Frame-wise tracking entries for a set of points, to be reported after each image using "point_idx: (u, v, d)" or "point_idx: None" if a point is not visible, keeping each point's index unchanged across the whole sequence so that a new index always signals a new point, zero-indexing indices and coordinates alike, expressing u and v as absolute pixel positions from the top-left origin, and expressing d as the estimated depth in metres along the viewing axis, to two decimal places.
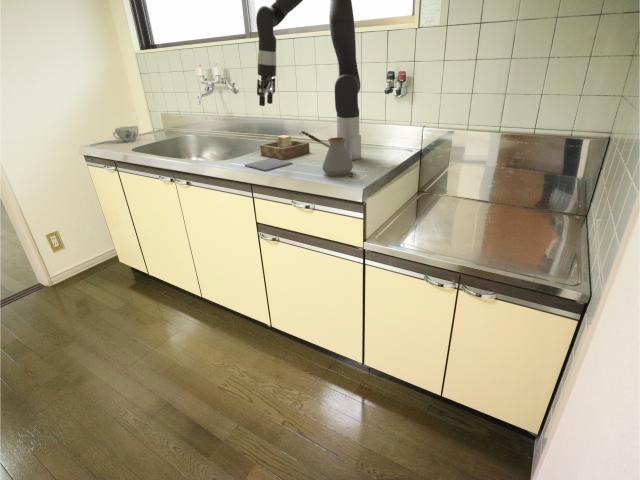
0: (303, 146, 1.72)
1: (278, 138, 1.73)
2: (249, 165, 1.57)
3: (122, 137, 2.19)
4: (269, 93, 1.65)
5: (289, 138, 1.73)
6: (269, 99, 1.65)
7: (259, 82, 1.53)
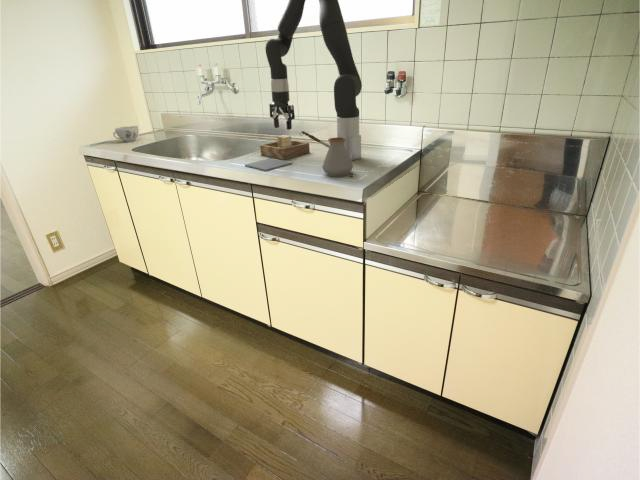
0: (303, 146, 1.72)
1: (278, 138, 1.73)
2: (249, 165, 1.57)
3: (122, 137, 2.19)
4: (276, 118, 1.72)
5: (289, 138, 1.73)
6: (277, 123, 1.73)
7: (291, 108, 1.63)
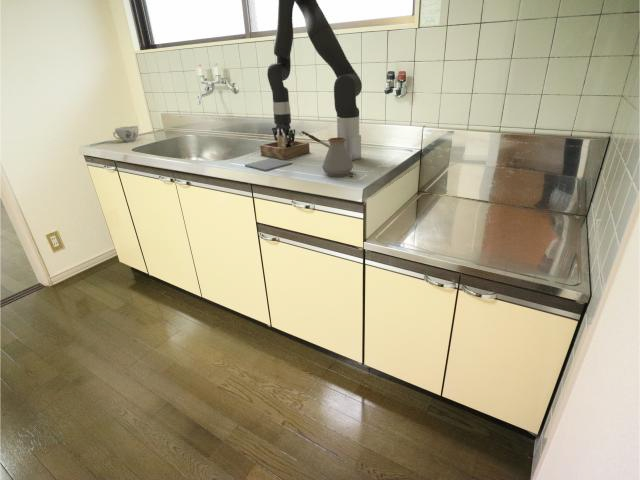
0: (303, 146, 1.72)
1: (278, 138, 1.73)
2: (249, 165, 1.57)
3: (122, 137, 2.19)
4: None
5: None
6: None
7: (292, 133, 1.68)
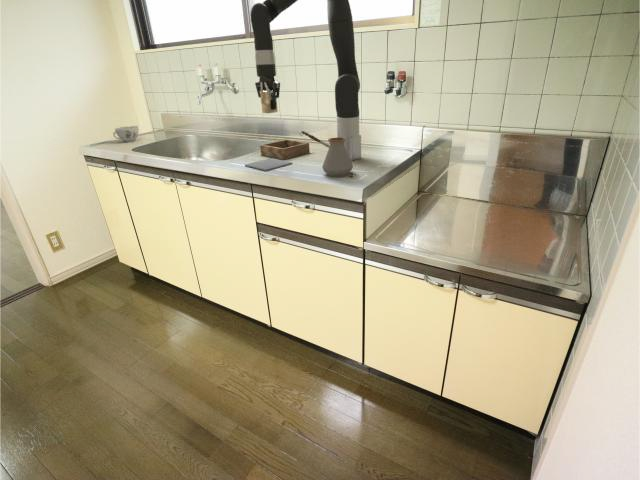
0: (303, 146, 1.72)
1: (261, 93, 1.53)
2: (249, 165, 1.57)
3: (122, 137, 2.19)
4: None
5: None
6: None
7: (276, 86, 1.48)
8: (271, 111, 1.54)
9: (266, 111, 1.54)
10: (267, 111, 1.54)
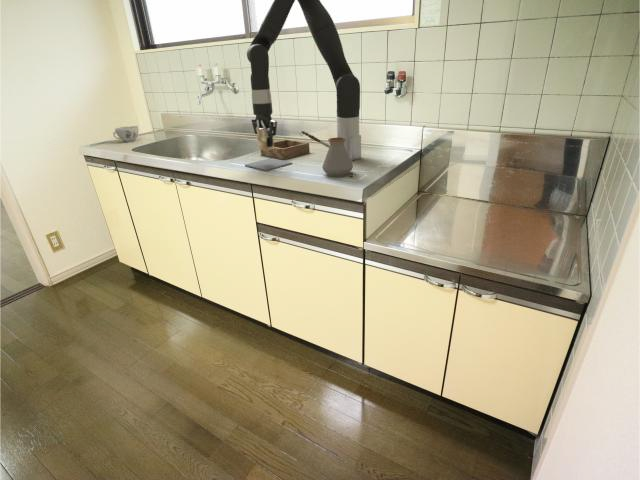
0: (303, 146, 1.72)
1: (258, 131, 1.52)
2: (249, 165, 1.57)
3: (122, 137, 2.19)
4: None
5: None
6: None
7: (273, 125, 1.47)
8: (268, 148, 1.53)
9: (262, 148, 1.54)
10: (264, 148, 1.53)
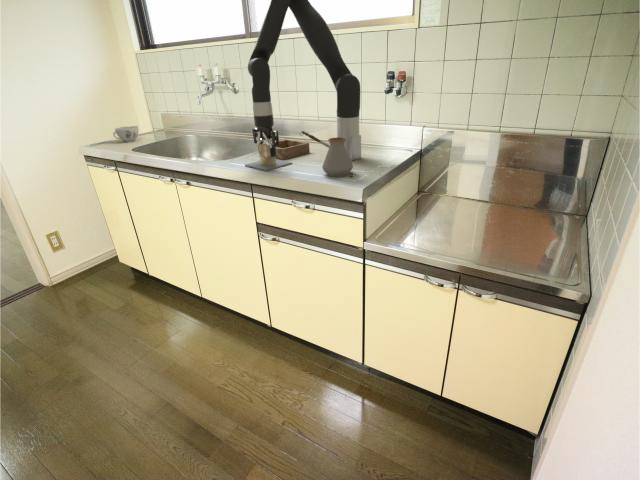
0: (303, 146, 1.72)
1: (260, 146, 1.54)
2: (249, 165, 1.57)
3: (122, 137, 2.19)
4: None
5: None
6: None
7: (275, 134, 1.48)
8: (270, 163, 1.56)
9: (265, 163, 1.56)
10: (266, 163, 1.56)
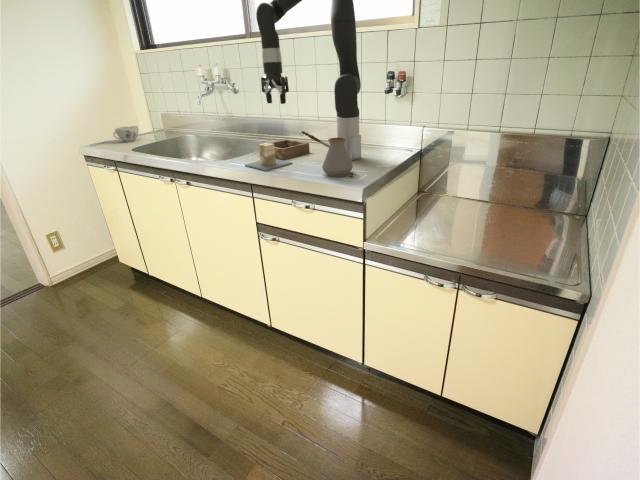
0: (303, 146, 1.72)
1: (260, 146, 1.54)
2: (249, 165, 1.57)
3: (122, 137, 2.19)
4: (268, 92, 1.61)
5: (272, 146, 1.54)
6: (270, 98, 1.62)
7: (284, 79, 1.51)
8: (270, 163, 1.56)
9: (265, 163, 1.56)
10: (266, 163, 1.56)
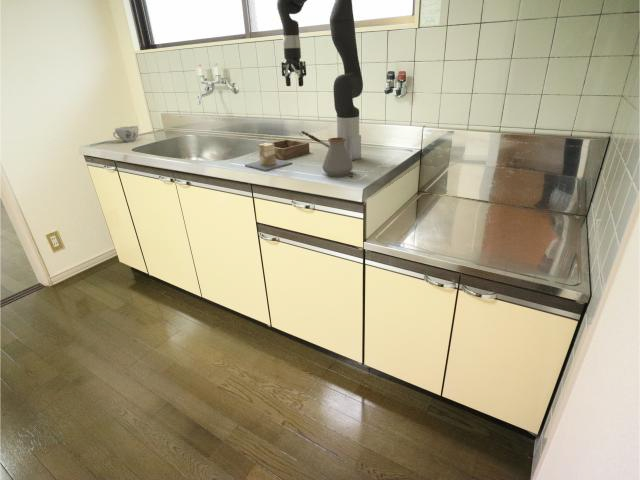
0: (303, 146, 1.72)
1: (260, 146, 1.54)
2: (249, 165, 1.57)
3: (122, 137, 2.19)
4: (287, 76, 1.78)
5: (272, 146, 1.54)
6: (289, 81, 1.79)
7: (303, 64, 1.68)
8: (270, 163, 1.56)
9: (265, 163, 1.56)
10: (266, 163, 1.56)
